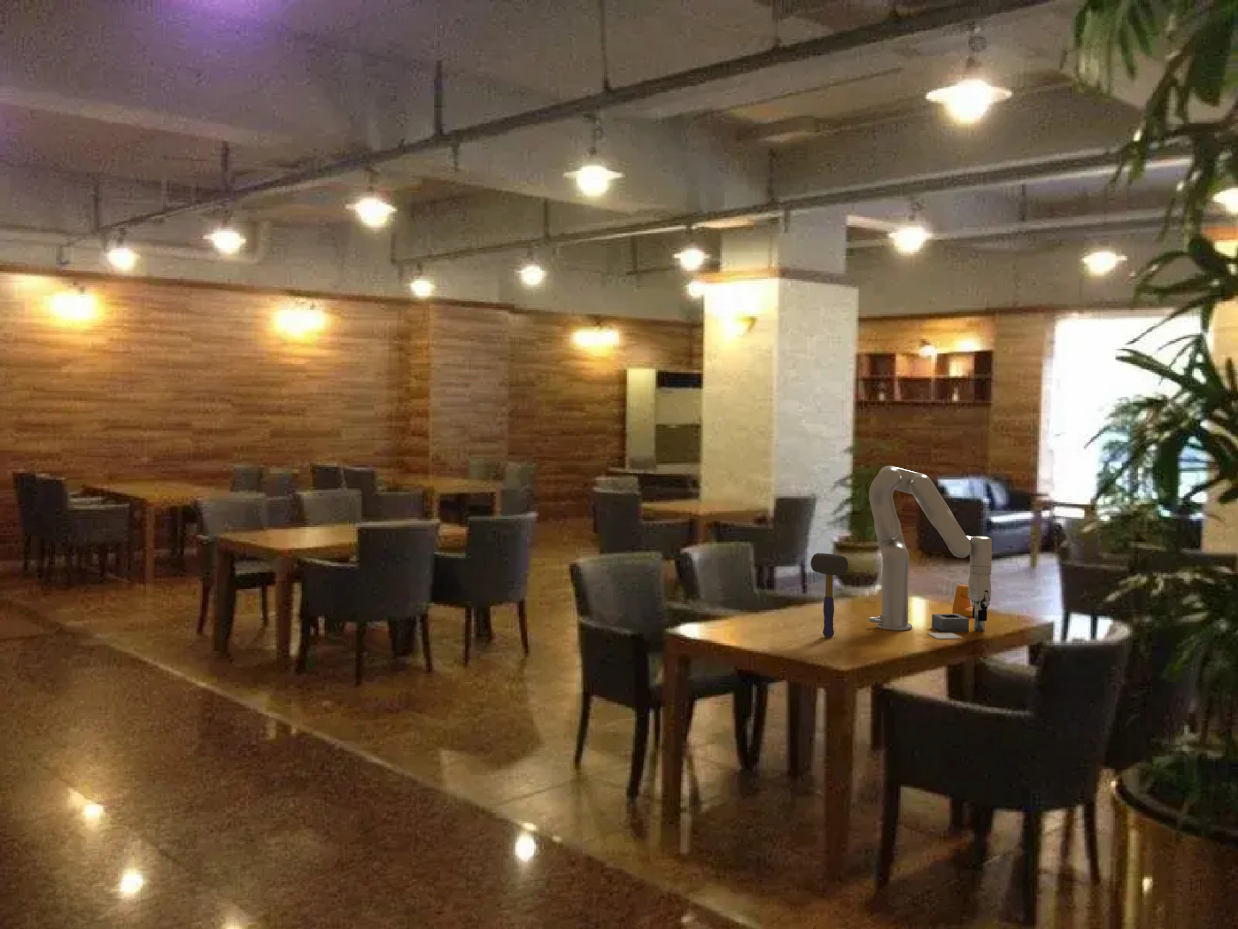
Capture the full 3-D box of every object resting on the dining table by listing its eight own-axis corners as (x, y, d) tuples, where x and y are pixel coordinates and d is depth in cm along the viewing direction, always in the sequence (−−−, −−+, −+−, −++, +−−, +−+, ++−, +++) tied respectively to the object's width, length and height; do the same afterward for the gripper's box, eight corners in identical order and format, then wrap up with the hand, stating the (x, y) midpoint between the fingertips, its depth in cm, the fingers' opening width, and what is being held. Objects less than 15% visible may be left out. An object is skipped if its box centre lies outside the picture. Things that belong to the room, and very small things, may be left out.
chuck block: (942, 632, 420) (942, 619, 420) (931, 627, 430) (931, 614, 430) (968, 632, 421) (968, 618, 421) (957, 627, 431) (957, 613, 431)
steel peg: (975, 632, 421) (976, 595, 420) (970, 629, 426) (971, 593, 425) (988, 632, 422) (989, 595, 421) (982, 629, 426) (983, 593, 426)
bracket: (969, 618, 449) (970, 587, 449) (952, 616, 454) (953, 585, 454) (982, 614, 457) (982, 584, 456) (965, 612, 462) (965, 582, 461)
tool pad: (937, 639, 408) (937, 638, 408) (927, 634, 417) (927, 633, 417) (962, 639, 409) (962, 637, 409) (951, 634, 418) (951, 632, 418)
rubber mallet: (849, 638, 408) (850, 554, 407) (835, 641, 404) (836, 556, 402) (821, 633, 418) (822, 551, 416) (808, 636, 413) (808, 552, 411)
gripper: (961, 567, 430) (960, 615, 431) (980, 573, 414) (979, 624, 415) (980, 566, 431) (979, 615, 432) (1000, 573, 415) (999, 623, 416)
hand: (979, 619), depth 423 cm, fingers open, 3 cm apart
